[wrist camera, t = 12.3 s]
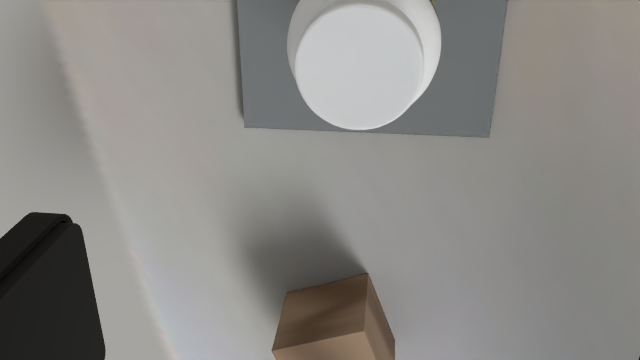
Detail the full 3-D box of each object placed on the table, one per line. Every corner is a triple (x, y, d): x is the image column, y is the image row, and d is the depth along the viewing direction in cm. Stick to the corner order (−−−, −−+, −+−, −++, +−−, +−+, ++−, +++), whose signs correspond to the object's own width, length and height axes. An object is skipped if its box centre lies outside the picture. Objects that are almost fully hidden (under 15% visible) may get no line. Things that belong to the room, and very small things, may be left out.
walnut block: (368, 272, 34) (364, 330, 30) (394, 338, 36) (394, 403, 32) (287, 291, 35) (271, 350, 31) (317, 355, 37) (306, 419, 33)
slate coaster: (524, -146, 24) (527, -146, 24) (487, 132, 30) (489, 137, 29) (231, -145, 25) (228, -145, 25) (247, 123, 31) (244, 127, 30)
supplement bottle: (455, -22, 26) (483, 28, 17) (398, 88, 28) (398, 180, 20) (340, -76, 26) (310, -53, 17) (293, 40, 28) (245, 112, 19)
